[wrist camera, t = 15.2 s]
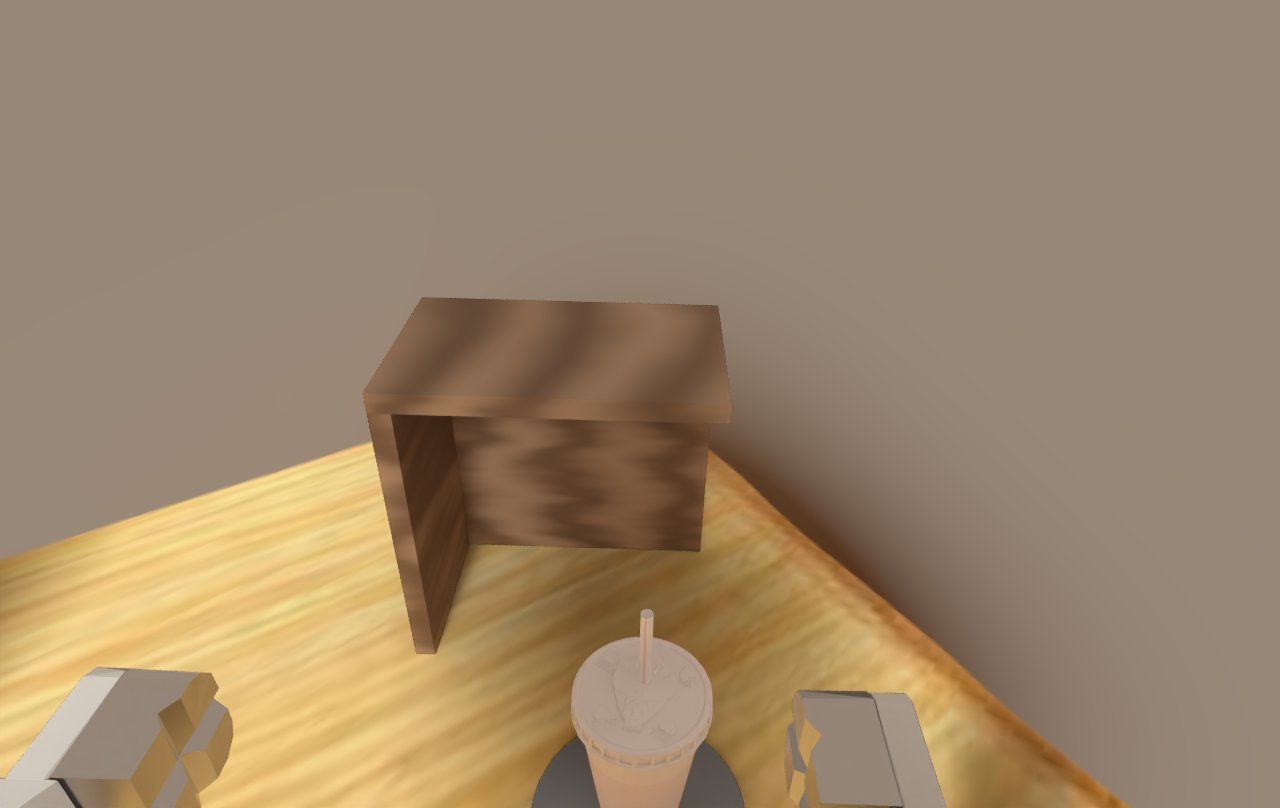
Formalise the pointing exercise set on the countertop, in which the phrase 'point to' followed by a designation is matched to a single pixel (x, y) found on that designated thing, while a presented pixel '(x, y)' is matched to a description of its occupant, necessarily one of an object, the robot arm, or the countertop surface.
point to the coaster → (572, 799)
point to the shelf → (541, 432)
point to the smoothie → (641, 718)
